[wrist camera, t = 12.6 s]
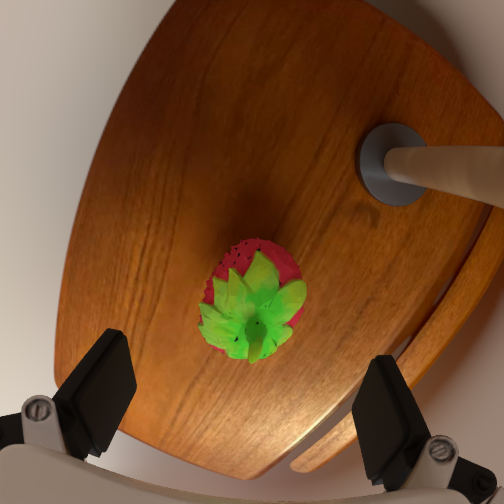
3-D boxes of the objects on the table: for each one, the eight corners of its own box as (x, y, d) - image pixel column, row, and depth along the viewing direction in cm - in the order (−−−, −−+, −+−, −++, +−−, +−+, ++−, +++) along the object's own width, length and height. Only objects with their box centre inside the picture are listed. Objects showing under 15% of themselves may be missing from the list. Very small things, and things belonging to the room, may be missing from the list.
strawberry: (316, 251, 21) (353, 323, 11) (260, 324, 23) (255, 419, 13) (250, 207, 20) (235, 248, 11) (198, 287, 22) (156, 370, 13)
